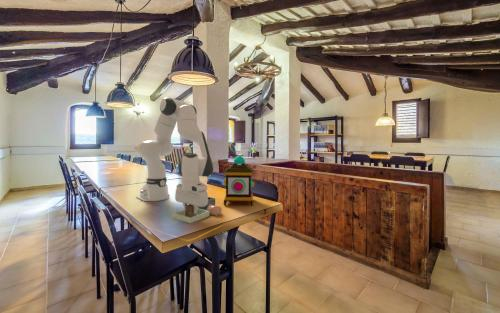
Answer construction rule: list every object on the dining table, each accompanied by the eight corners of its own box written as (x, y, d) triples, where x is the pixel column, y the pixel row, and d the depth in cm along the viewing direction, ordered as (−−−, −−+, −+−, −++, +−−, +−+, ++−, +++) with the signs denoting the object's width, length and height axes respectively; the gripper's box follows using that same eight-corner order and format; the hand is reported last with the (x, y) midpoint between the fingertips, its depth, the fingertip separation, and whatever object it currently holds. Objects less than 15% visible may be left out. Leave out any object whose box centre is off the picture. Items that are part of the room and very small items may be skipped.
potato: (206, 215, 126) (206, 205, 126) (212, 213, 130) (213, 204, 130) (215, 217, 123) (215, 207, 122) (221, 215, 127) (221, 205, 127)
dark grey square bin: (196, 211, 132) (196, 199, 132) (205, 208, 138) (205, 196, 138) (206, 213, 128) (206, 200, 128) (215, 210, 134) (215, 198, 134)
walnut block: (185, 217, 121) (185, 205, 120) (191, 215, 124) (191, 203, 124) (190, 218, 119) (190, 206, 118) (196, 216, 122) (196, 204, 121)
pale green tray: (171, 219, 119) (171, 213, 119) (191, 212, 130) (191, 207, 130) (190, 224, 112) (190, 218, 112) (209, 216, 123) (209, 211, 123)
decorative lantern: (254, 207, 141) (255, 156, 139) (221, 206, 142) (221, 156, 140) (254, 198, 161) (255, 154, 159) (225, 198, 162) (225, 154, 160)
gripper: (171, 184, 123) (172, 210, 124) (200, 189, 112) (200, 217, 113) (181, 182, 128) (181, 207, 129) (209, 186, 117) (210, 214, 118)
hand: (191, 212), depth 121 cm, fingers closed on walnut block, 4 cm apart
